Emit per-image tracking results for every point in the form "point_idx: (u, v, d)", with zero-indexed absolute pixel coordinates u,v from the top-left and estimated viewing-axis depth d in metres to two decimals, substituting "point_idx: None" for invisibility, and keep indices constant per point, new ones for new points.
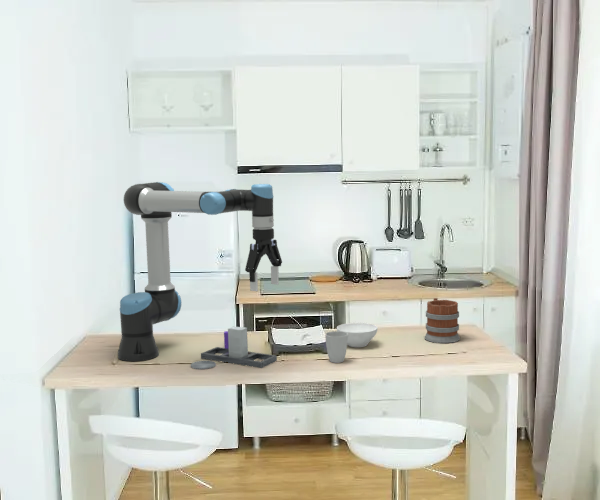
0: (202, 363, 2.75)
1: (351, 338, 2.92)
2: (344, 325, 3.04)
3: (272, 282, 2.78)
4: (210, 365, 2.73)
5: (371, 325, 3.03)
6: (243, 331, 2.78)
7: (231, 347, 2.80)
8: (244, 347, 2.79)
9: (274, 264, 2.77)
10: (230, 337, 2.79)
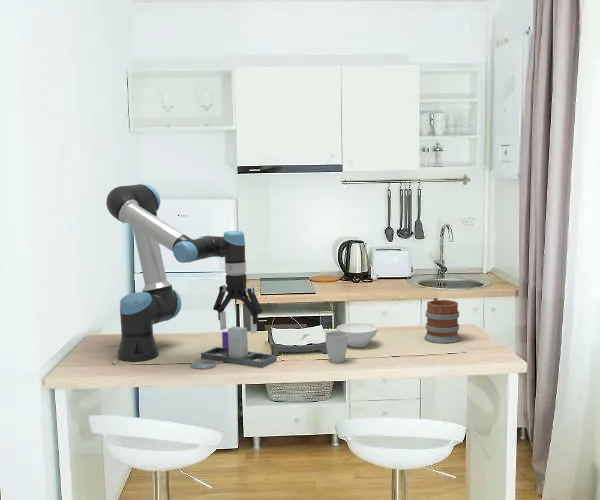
0: (202, 363, 2.75)
1: (351, 338, 2.92)
2: (344, 325, 3.04)
3: None
4: (210, 365, 2.73)
5: (371, 325, 3.03)
6: (243, 331, 2.78)
7: (231, 347, 2.80)
8: (244, 347, 2.79)
9: None
10: (230, 337, 2.79)
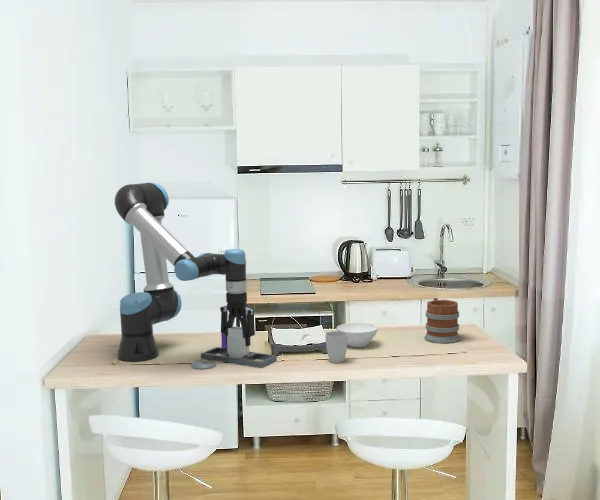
0: (202, 363, 2.75)
1: (351, 338, 2.92)
2: (344, 325, 3.04)
3: None
4: (210, 365, 2.73)
5: (371, 325, 3.03)
6: None
7: (231, 347, 2.80)
8: None
9: None
10: (230, 337, 2.79)
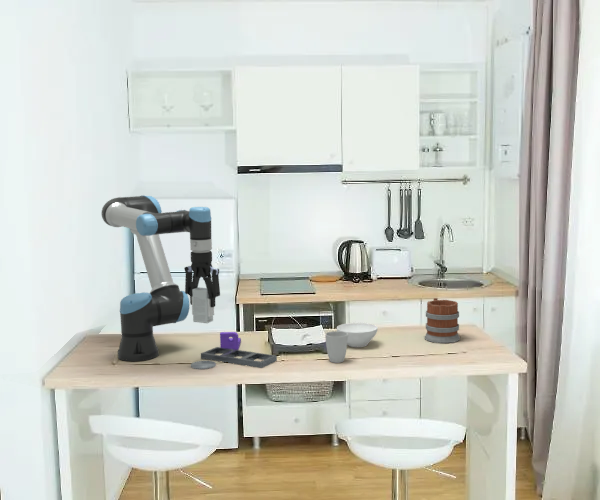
0: (202, 363, 2.75)
1: (351, 338, 2.92)
2: (344, 325, 3.04)
3: None
4: (210, 365, 2.73)
5: (371, 325, 3.03)
6: None
7: (195, 308, 2.71)
8: None
9: None
10: (194, 298, 2.71)
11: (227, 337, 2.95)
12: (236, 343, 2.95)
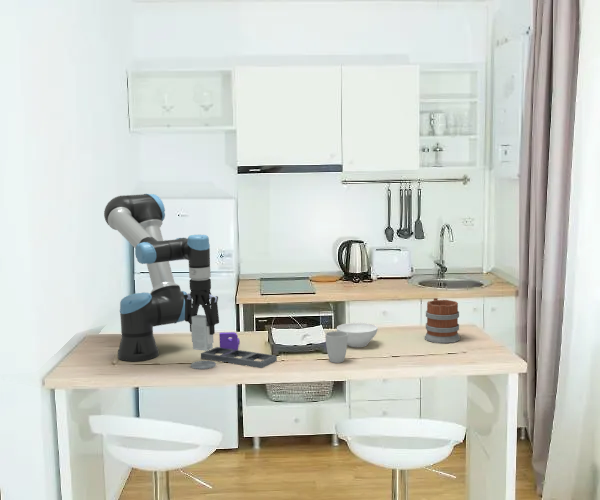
0: (202, 363, 2.75)
1: (351, 338, 2.92)
2: (344, 325, 3.04)
3: None
4: (210, 365, 2.73)
5: (371, 325, 3.03)
6: None
7: (195, 335, 2.72)
8: None
9: None
10: (194, 325, 2.72)
11: (226, 337, 2.94)
12: (235, 343, 2.95)
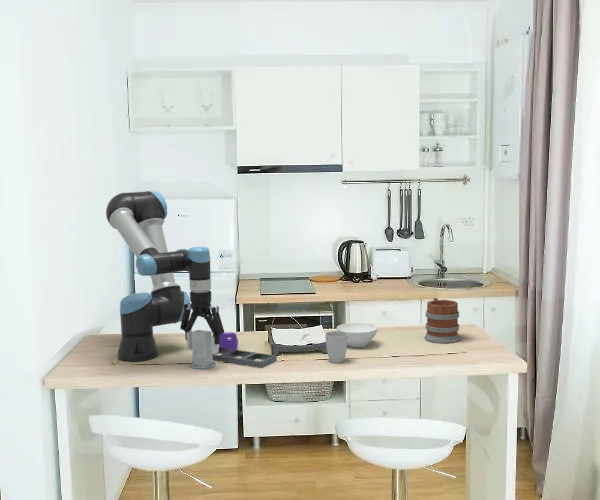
0: None
1: (351, 338, 2.92)
2: (344, 325, 3.04)
3: None
4: (210, 365, 2.73)
5: (371, 325, 3.03)
6: (207, 334, 2.72)
7: (195, 350, 2.73)
8: (207, 351, 2.72)
9: None
10: (194, 341, 2.73)
11: (226, 337, 2.94)
12: (235, 343, 2.94)
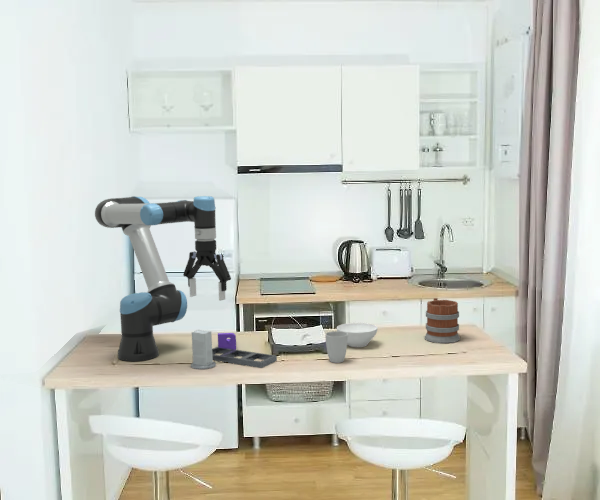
0: None
1: (351, 338, 2.92)
2: (344, 325, 3.04)
3: None
4: (210, 365, 2.73)
5: (371, 325, 3.03)
6: (207, 334, 2.72)
7: (195, 350, 2.73)
8: (207, 351, 2.72)
9: None
10: (194, 341, 2.73)
11: (225, 338, 2.93)
12: (234, 344, 2.94)
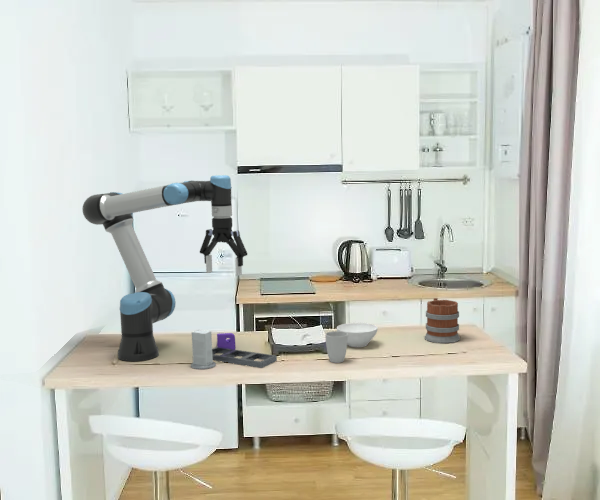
0: None
1: (351, 338, 2.92)
2: (344, 325, 3.04)
3: None
4: (210, 365, 2.73)
5: (371, 325, 3.03)
6: (207, 334, 2.72)
7: (195, 350, 2.73)
8: (207, 351, 2.72)
9: None
10: (194, 341, 2.73)
11: (224, 338, 2.93)
12: (233, 344, 2.94)
